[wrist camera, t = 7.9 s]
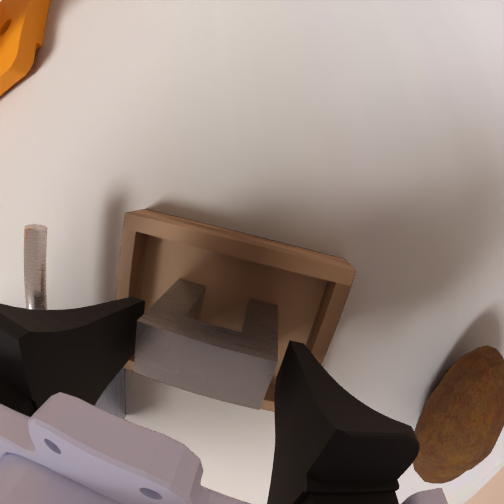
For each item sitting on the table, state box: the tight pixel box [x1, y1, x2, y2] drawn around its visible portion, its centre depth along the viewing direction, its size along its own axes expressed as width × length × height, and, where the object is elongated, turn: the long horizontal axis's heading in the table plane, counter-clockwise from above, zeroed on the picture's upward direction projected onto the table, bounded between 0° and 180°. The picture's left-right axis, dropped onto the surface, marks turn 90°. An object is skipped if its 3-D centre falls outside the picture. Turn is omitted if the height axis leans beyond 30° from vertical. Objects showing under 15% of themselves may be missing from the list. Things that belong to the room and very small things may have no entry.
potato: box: [413, 345, 504, 483], centre depth 12 cm, size 7×12×7 cm, turn 12°
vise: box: [24, 224, 126, 419], centre depth 13 cm, size 7×15×6 cm, turn 167°
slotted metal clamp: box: [134, 278, 278, 410], centre depth 12 cm, size 5×2×5 cm, turn 76°
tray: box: [116, 209, 356, 412], centre depth 14 cm, size 10×8×2 cm
